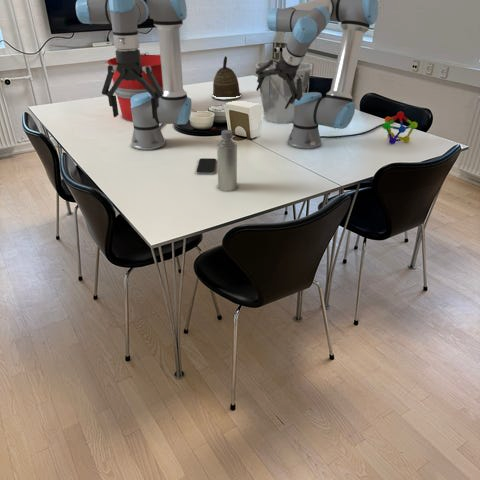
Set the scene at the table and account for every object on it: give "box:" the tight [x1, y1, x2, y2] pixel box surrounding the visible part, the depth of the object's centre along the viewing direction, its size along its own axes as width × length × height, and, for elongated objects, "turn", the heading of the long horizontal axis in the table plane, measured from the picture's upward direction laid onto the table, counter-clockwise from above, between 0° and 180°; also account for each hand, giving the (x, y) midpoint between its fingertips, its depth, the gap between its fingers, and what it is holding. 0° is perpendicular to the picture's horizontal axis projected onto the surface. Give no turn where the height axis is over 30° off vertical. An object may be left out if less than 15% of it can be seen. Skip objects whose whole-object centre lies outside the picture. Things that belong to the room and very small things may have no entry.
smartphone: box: [196, 157, 217, 175], centre depth 184 cm, size 7×1×15 cm
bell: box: [212, 56, 242, 97], centre depth 278 cm, size 19×26×20 cm
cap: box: [220, 129, 233, 139], centre depth 157 cm, size 4×4×2 cm
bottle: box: [216, 138, 238, 192], centre depth 163 cm, size 7×7×21 cm
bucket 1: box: [103, 52, 163, 122], centre depth 240 cm, size 35×35×30 cm
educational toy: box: [382, 110, 418, 145], centre depth 207 cm, size 16×13×15 cm
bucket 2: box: [255, 59, 313, 124], centre depth 236 cm, size 30×30×28 cm
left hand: (135, 116), depth 150 cm, fingers open, 13 cm apart
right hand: (272, 97), depth 178 cm, fingers open, 13 cm apart
